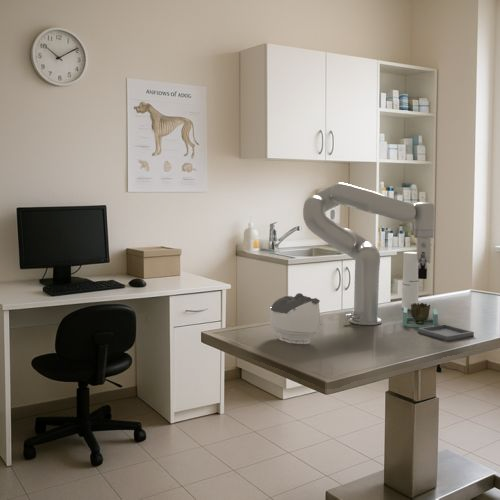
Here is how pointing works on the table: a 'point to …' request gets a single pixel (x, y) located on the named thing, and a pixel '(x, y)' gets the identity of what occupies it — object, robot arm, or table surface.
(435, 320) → the holder
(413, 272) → the cylindrical container
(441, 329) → the tray
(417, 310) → the cup
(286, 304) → the white bowl with contents
